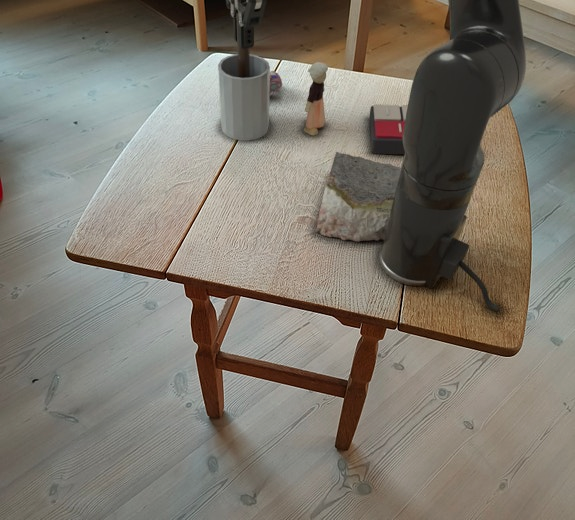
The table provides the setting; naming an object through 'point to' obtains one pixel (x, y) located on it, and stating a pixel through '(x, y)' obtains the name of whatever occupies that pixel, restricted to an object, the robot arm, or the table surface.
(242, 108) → the cup
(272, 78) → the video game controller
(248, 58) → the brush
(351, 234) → the geological specimen
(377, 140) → the black red box
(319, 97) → the grandmother figurine
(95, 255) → the table surface
